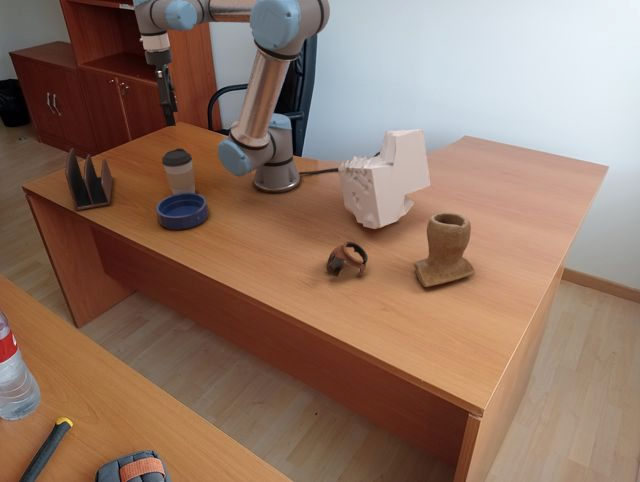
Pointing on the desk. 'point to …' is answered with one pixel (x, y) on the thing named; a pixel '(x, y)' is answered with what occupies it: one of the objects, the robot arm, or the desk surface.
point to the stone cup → (445, 250)
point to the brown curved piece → (346, 259)
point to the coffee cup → (179, 171)
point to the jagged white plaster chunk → (385, 179)
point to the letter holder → (88, 183)
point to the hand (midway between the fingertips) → (172, 118)
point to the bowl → (182, 211)
